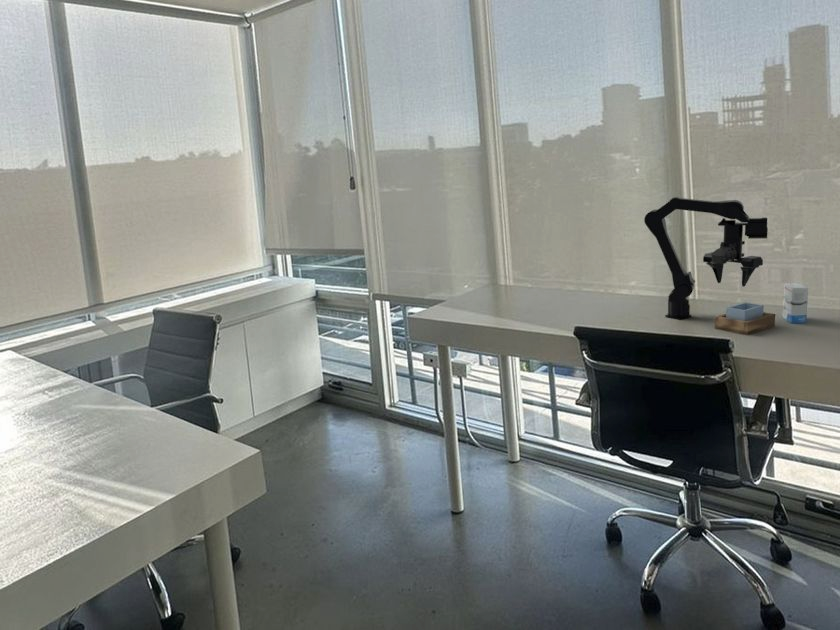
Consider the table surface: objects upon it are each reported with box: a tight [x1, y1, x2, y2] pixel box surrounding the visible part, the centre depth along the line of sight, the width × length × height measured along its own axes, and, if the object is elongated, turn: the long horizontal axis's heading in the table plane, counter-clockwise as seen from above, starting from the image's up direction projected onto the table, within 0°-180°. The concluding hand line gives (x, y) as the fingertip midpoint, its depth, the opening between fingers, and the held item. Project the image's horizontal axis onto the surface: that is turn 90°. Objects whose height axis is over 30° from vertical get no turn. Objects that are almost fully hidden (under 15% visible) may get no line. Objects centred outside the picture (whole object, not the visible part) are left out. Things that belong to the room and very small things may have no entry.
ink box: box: [782, 282, 809, 324], centre depth 223 cm, size 8×5×12 cm, turn 168°
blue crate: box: [725, 302, 765, 321], centre depth 219 cm, size 6×10×6 cm, turn 122°
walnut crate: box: [714, 311, 776, 336], centre depth 220 cm, size 11×15×4 cm
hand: (731, 284), depth 229 cm, fingers open, 9 cm apart
